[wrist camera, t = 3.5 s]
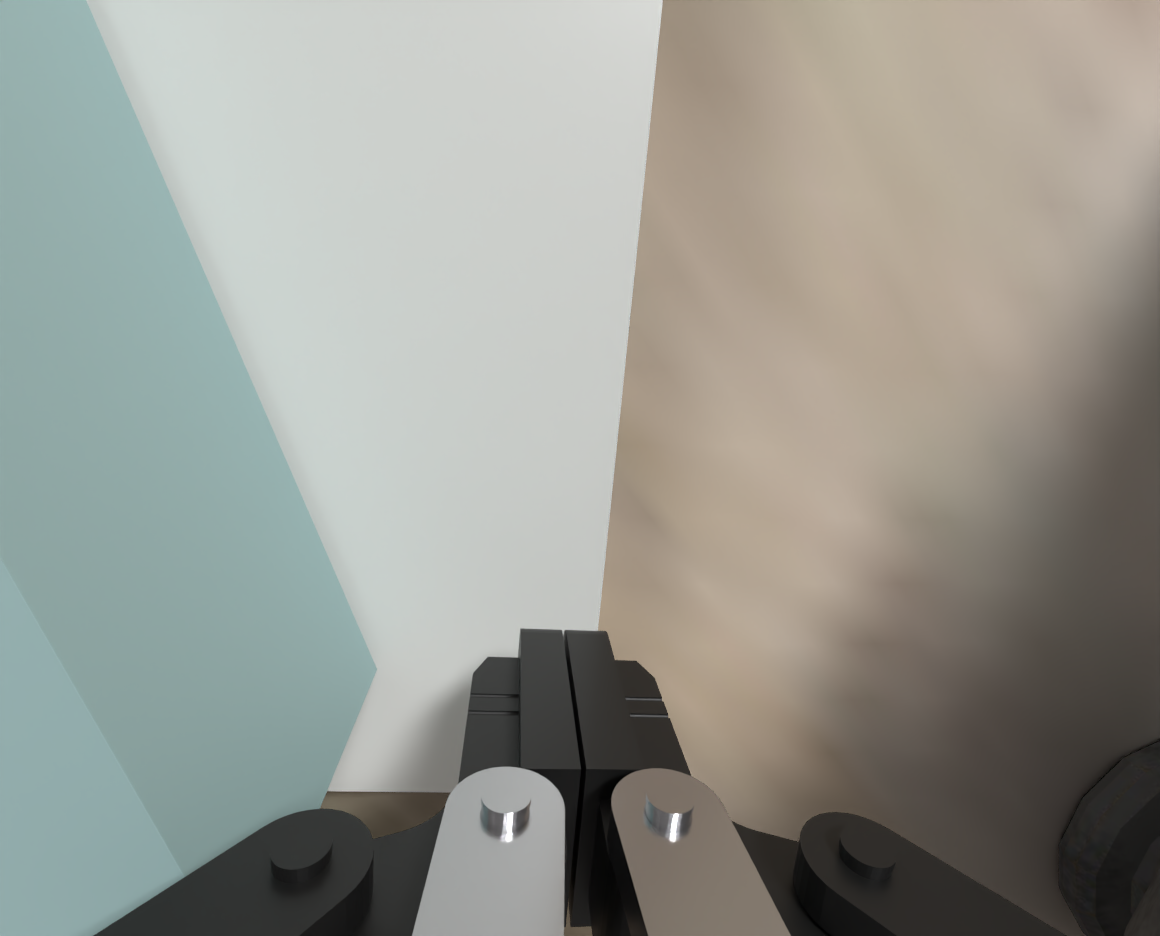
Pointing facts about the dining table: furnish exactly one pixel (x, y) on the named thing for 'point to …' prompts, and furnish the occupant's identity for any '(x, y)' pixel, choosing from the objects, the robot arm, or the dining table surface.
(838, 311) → the dining table surface
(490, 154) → the board
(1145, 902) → the pitcher
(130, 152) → the arm
